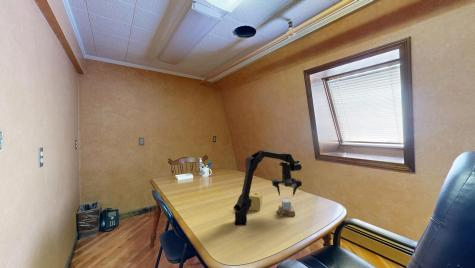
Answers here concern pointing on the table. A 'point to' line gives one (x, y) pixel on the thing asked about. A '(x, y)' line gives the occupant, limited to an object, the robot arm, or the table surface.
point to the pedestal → (286, 212)
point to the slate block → (286, 204)
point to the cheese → (256, 201)
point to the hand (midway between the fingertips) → (286, 195)
